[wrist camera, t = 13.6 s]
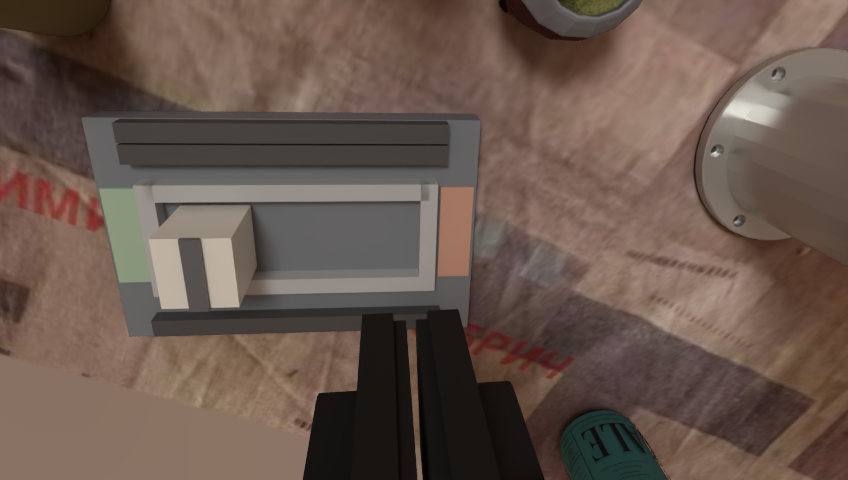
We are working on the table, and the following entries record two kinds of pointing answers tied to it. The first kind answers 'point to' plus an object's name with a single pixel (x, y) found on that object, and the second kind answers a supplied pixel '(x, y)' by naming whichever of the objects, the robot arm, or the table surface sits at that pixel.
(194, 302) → the toggle
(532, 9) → the mate gourd
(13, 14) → the olive brown pawn
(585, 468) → the beverage bottle
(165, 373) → the table surface
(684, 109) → the table surface
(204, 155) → the panel
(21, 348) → the table surface
